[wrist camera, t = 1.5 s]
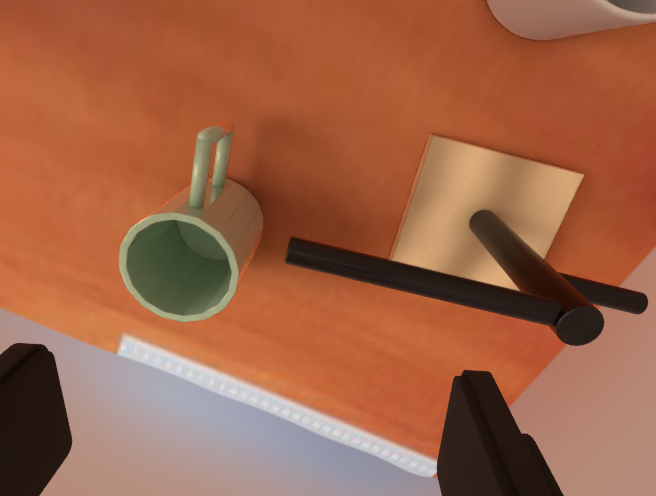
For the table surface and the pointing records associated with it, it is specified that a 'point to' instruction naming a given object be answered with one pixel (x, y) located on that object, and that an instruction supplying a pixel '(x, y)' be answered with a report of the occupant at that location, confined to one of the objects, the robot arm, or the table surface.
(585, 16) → the mug
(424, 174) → the mug holder
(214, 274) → the small mug
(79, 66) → the table surface
